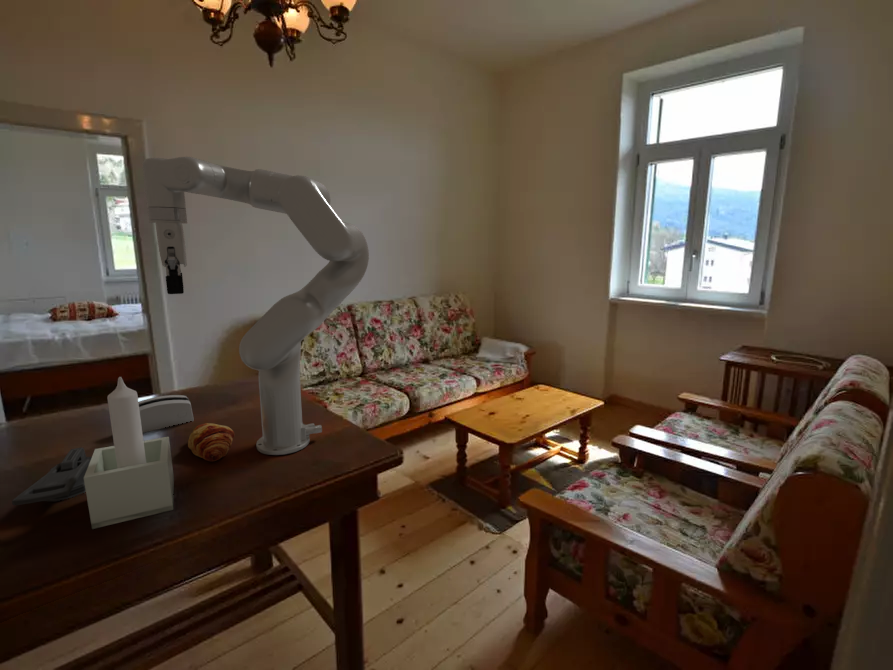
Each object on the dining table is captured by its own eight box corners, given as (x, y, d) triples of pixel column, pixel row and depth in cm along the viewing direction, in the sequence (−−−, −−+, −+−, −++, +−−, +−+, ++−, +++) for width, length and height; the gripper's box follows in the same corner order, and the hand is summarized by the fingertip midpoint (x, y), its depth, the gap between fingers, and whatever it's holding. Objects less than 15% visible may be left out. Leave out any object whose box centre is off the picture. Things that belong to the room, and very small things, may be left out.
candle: (124, 516, 83) (106, 385, 78) (107, 503, 87) (88, 378, 81) (165, 498, 89) (150, 375, 84) (147, 487, 93) (132, 369, 87)
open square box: (173, 479, 97) (168, 436, 95) (173, 509, 87) (167, 461, 85) (102, 494, 91) (95, 449, 89) (92, 529, 81) (83, 477, 79)
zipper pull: (4, 503, 77) (52, 443, 99) (12, 537, 78) (56, 471, 100) (70, 491, 81) (102, 436, 103) (76, 524, 82) (106, 463, 104)
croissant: (196, 447, 120) (176, 425, 116) (231, 423, 124) (213, 401, 120) (206, 482, 102) (183, 457, 99) (246, 452, 106) (226, 428, 103)
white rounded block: (190, 415, 132) (189, 387, 127) (194, 425, 129) (194, 397, 124) (120, 430, 121) (117, 400, 116) (123, 442, 118) (120, 411, 113)
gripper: (187, 216, 98) (195, 295, 102) (186, 218, 113) (193, 287, 116) (145, 214, 94) (155, 296, 98) (150, 217, 109) (158, 288, 113)
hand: (176, 291), depth 107 cm, fingers open, 9 cm apart
